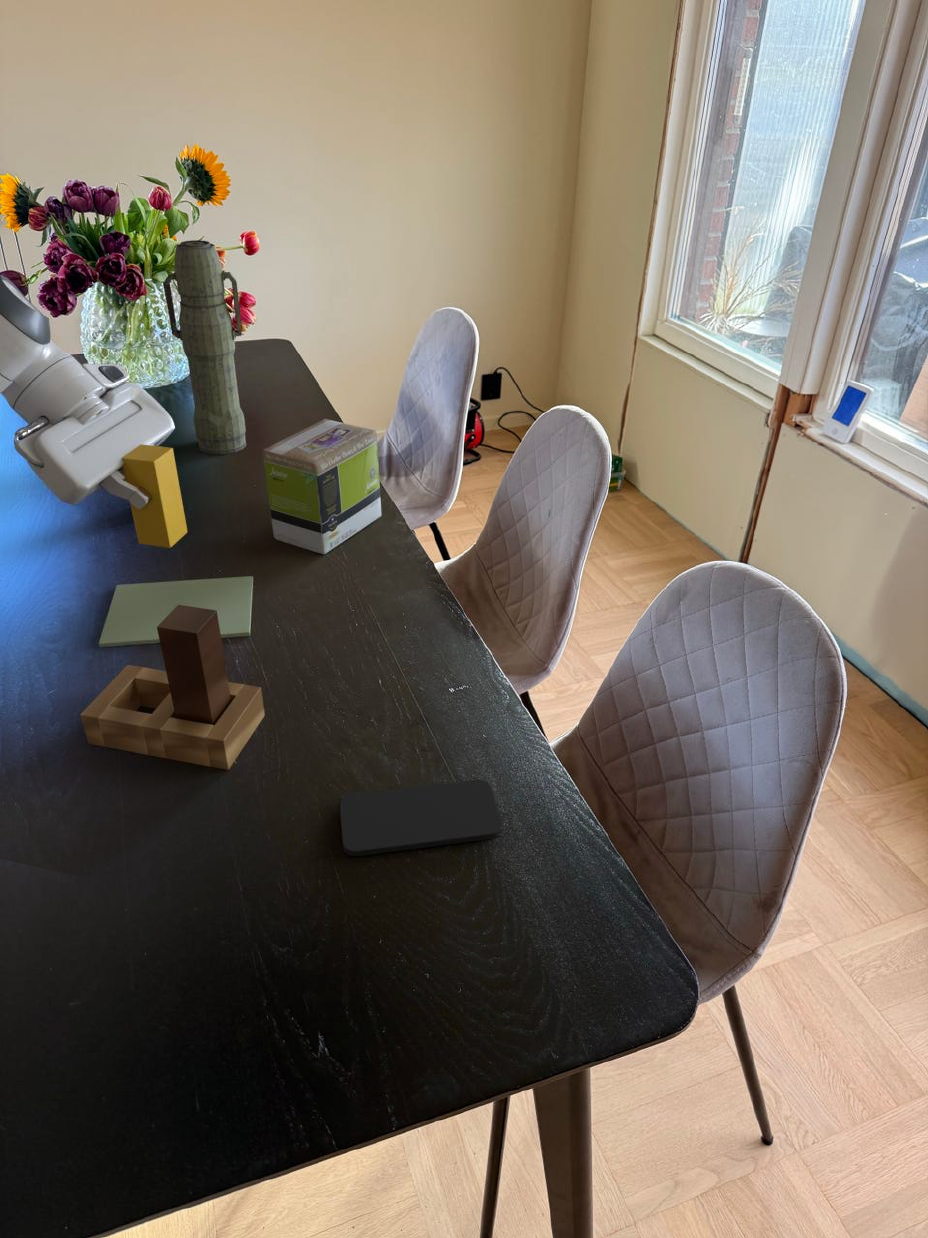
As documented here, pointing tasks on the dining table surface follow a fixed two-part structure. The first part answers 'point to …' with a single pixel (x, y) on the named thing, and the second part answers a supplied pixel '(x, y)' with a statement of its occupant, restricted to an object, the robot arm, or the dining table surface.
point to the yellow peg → (156, 495)
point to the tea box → (323, 484)
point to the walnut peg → (195, 664)
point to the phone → (418, 817)
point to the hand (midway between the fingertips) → (159, 493)
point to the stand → (169, 721)
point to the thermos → (208, 344)
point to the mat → (152, 602)
